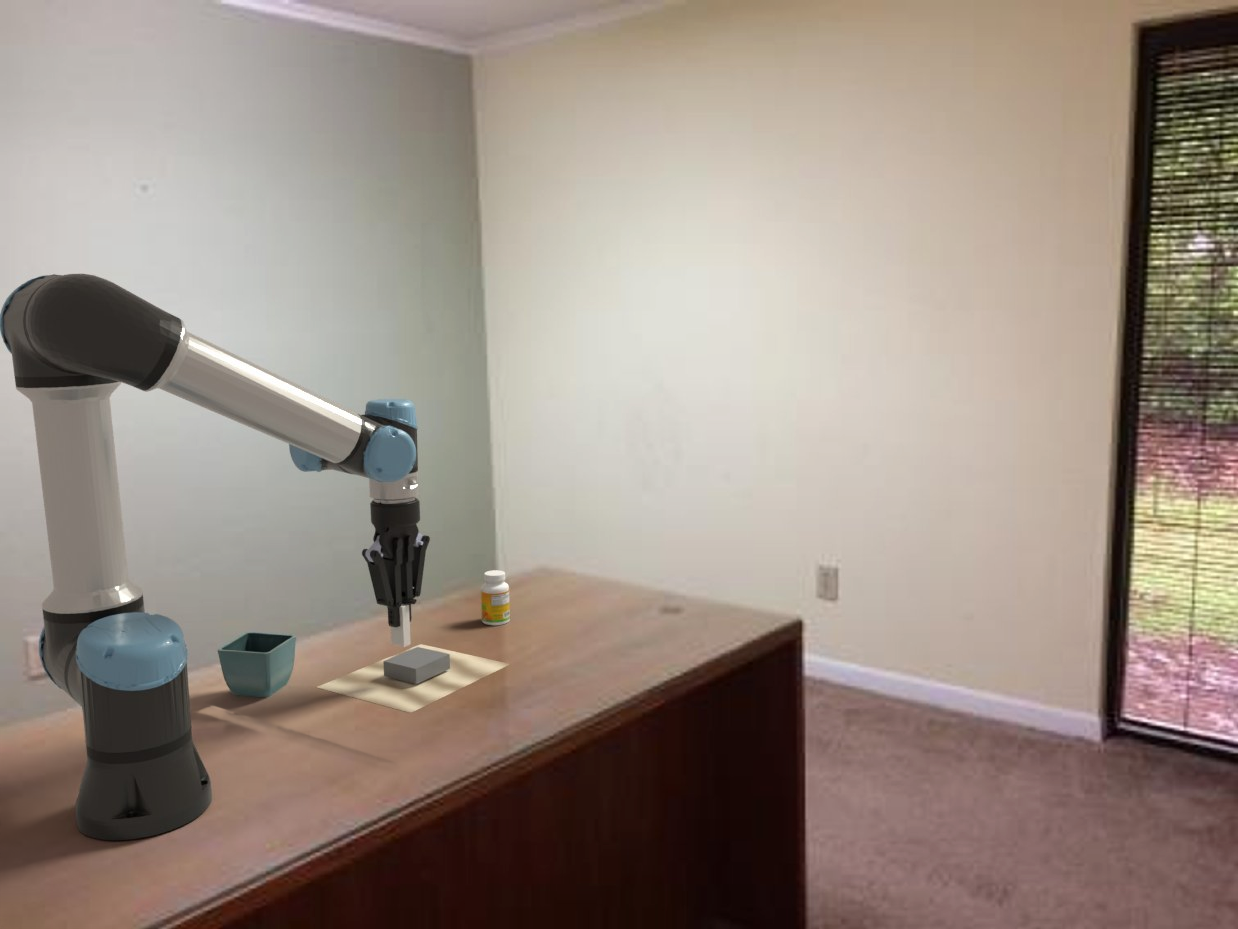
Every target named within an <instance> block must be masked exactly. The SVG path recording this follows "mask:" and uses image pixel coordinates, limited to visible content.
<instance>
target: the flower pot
mask: <svg viewBox="0 0 1238 929" xmlns="http://www.w3.org/2000/svg"><path fill="white" fill-rule="evenodd" d="M296 641H297V635H296V634H287V633H286V634H285V633H284V634H283V633H269V632H257V631H256V632H255V631H247V632H244V633H243V634H241V635H238V637H236V638H235V639H233V640H230V641H229V642H227V643H226V644H225V645H222V646H221V647H219V648H218V649H217V654H218V658H219V664H220V667H221V668H220V669H221V671H222V676H223V679H224V681H225V684H226V686H227V687H228V689H229V691H230V692H231V694H233V696H241V697H243V696H244V697H258V698H270V697H271V696H272V695H273V694H275V693H276V692H278V691H280V690H281V689H282V688H284V687H285V686H286V685H287V684H288V683H289V680H290V679H291V675H292V673H293V670H294V665H295V656H296V654H295V653H296V645H297V644H296V643H297V642H296Z"/></svg>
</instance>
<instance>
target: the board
mask: <svg viewBox="0 0 1238 929" xmlns="http://www.w3.org/2000/svg"><path fill="white" fill-rule="evenodd" d="M416 647H420V648H425V649H429V650H434V651H438V652H443V653H447V654H450V669H448V670H446V671H444V672H442V673H440V674H437V675H435V676H433V677H431V678H429V679H427V680H424V681H422V682H420V683H418V684H414V683H410V682H406V681H402V680H398V679H394V678H390V677H386V676H384V664H383V661H385V660H387V659H390V658H392V657H395V656H397V655H399V654H402V653H404V652H407V651H409V650H411V649H414V648H416ZM510 665H511V663H508V662H502V661H498V660H495V659H489V658H485V657H481V656H476V655H471V654H467V653H463V652H458V651H454V650H449V649H445V648H440V647H436V646H432V645H431V646H430V645H427V644H422V643H420V644H417V645H415V646H413V647H410V648H408V649H406V650H403V651H400V652H398V653H396V654H394V655H391V656H388V657H386V658H383V659H381V660H379V661H376V662H374V663H371V664H369V665H367V666H364V667H362V668H359V669H357V670H354V671H352V672H350V673H347V674H345V675H343V676H341V677H338V678H335V679H333V680H331V681H328V682H325V683H323V684H321V685H319V686H316V688H317V689H319V690H324V691H327V692H328V691H329V692H332V693H336V694H338V695H343V696H347V697H349V698H353V699H358V700H361V701H363V702H368V703H372V704H376V705H380V706H383V707H387V708H390V709H391V708H392V709H395V710H398V711H401V712H404V713H409V714H412V713H414V712H415V711H417V710H420V709H422V708H424V707H426V706H428V705H430V704H432V703H435V702H436V701H438V700H440V699H443V698H444V697H446V696H448V695H450V694H453V693H454V692H457V691H459V690H461V689H463V688H464V687H467V686H469V685H472V683H473V684H474V683H475V682H477V681H479V680H482V679H483V678H485V677H487V676H489V675H491V674H494V673H495V672H497V671H500V670H502V669H504V668H505V667H508V666H510Z"/></svg>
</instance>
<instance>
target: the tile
mask: <svg viewBox="0 0 1238 929" xmlns="http://www.w3.org/2000/svg"><path fill="white" fill-rule="evenodd" d="M383 664H384V676H386V677H390V678H394V679H398V680H402V681H406V682H410V683H414V684H418V683H420V682H422V681H424V680H427V679H429V678H431V677H433V676H435V675H437V674H440V673H442V672H444V671H446V670H448V669H450V654H447V653H443V652H438V651H434V650H429V649H425V648H420V647H416V648H414V649H411V650H409V651H407V652H404V653H402V654H399V655H397V656H395V657H392V658H390V659H387V660H385V661H383Z"/></svg>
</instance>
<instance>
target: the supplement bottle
mask: <svg viewBox="0 0 1238 929" xmlns="http://www.w3.org/2000/svg"><path fill="white" fill-rule="evenodd" d="M483 575H484V576H483V578H484V581H485V582H484V583H483V584H481V586H480V600H481V603H480V604H481V622H482V623H483V624H485V625H488V626H501V625H505V624H507V623H509V622H510V620H511V619H510V618H511V617H510V616H511V612H510V611H511V610H510V606H511V604H510V603H511V602H510V586H509V584H508V583H507V582H505V580H506V572H505V571H503V570H497V569H495V570H494V569H493V570H488V571H485V572H484V574H483Z"/></svg>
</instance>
